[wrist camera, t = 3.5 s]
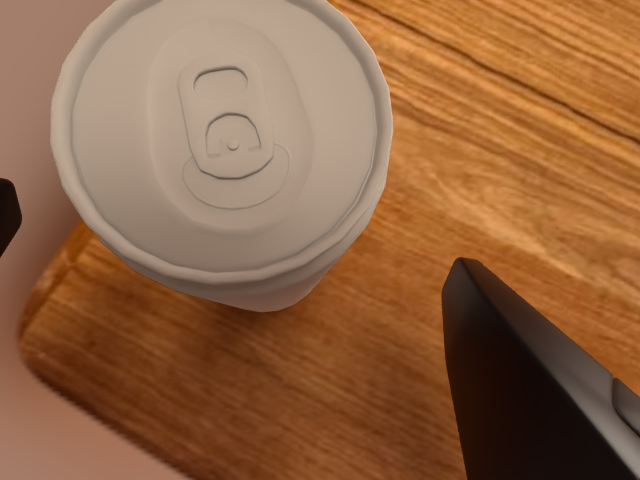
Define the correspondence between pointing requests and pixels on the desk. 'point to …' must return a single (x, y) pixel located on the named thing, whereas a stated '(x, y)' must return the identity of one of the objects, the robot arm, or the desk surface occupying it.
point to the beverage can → (224, 142)
